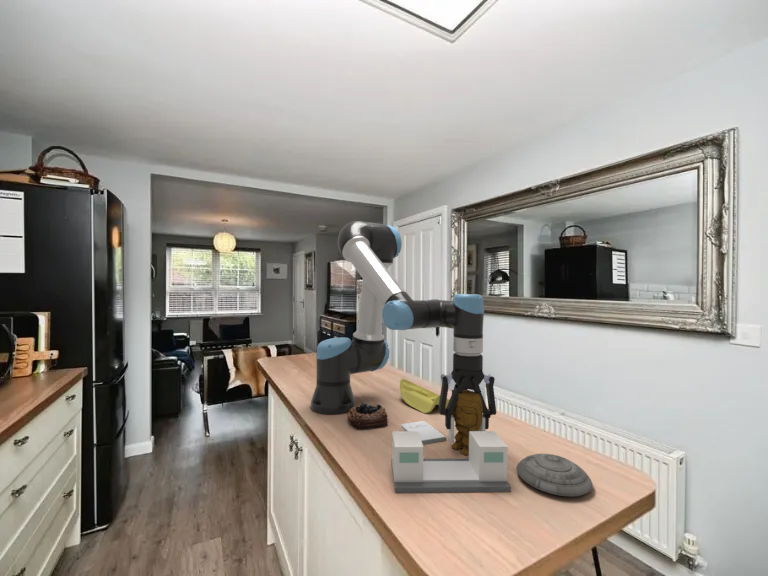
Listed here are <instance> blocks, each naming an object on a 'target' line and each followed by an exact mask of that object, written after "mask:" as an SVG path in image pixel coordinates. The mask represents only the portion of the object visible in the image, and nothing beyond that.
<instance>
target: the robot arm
mask: <svg viewBox="0 0 768 576" xmlns="http://www.w3.org/2000/svg"><path fill="white" fill-rule="evenodd" d="M402 244H403V243H402V237H401V234H400V233H399V230H398V229H397V228H396V227H394V226H392V225H389V224H386V223H385V224H384V223H378V222H369V221H363V220H355V221H350V222H348V223H347V224H345V225H344V226H343V227H342V228H341V229H340V231H339V234H338V236H337V247H338V251H339V253H340V254H341V256H342V257H343V258H344V260H345V261H347V262H350V263H351V264H352V265H353V267H354V268H355V270H356V271H357V273H358V274H359V275H360V277H361V278H362V281H361V282H362V283H361V284H362V285H361V293H360V304H359V313H358V314H359V315H358V325H357V330H356V331H355V332H353V334H352V340H351V338H349V337H345V336H344V337H343V336H342V337H332V338H328V339H324V340H322V341H320V342H319V343H318V345H317V347H316V355H315V357H316V382H315V383H316V384H315V385H316V386H315V388H314V392H313V395H312V397H311V400H310V408H311V411H313V412H315V413H317V414H323V415H340V414H344V413H349V410H350V409H351V408H352V407H356V398H355V396H354V392H353V388H352V386H351V375H353V374H362V373H367V372H370V373H371V372H375V371H377V370H378V371H379V370H381V369H382V368H384V367H386V364H387V363H388V361H389V359H390V347H389V344H388V342H387V340H385V335H384V334H383V332H382V325H383V324H384V325H385V328H387V329H389V330H390V331H391V330H392V331H407V330H416V329H428V328H429V329H430V328H431V329H432V328H447V329H453V343H452V345H453V346H452V351H453V352H454V353H453V354H452V371H451V374H450V373H449V374H443V373H442V374H441V375H440V379H441V380H440V381H441V388H440V394H439V395H440V400H439V405H438V407H437V411H438V413H439V414H440V415H441V416H444V426H445V428H446V430H448V440H449V442H450V444H454V443H455V421H454V417H453V415H452V413H453V411H454V408H455V406H456V403H457V401H458V393H462V390H470V391H473V392H475V393H477V394H479V395H480V396H481V399H482V405H483V413H482V420H481V425H480V430H479V431H486V430H488V429H489V425H490V419H491V417H492V416H495V415H497V408H496V407H497V406H496V399H495V388H494V385H495V379H496V378H495V377H494V376H493V375H491V374H484V370H483V368H484V367H483V366H484V365H483V362H484V358H483V357H484V356H483V355H482V353H483V352H484V331H483V330H484V314H485V309H484V297H483V296H482V295H481V294H477V293H476V294H475V293H473V294H472V293H471V294H470V293H456V294H455V295H454V296H453V300H444V299H438V298H437V299H426V300H418V299H417V300H414V299H413V298H412V297H411V296H410V295H409V294H408V292H407V291H406V290H405V289H404V288H403V287H402V285H401V284H400V283H399V281H398V280H397V279H396V278H395V276H394V275H393V274H392V272H391V271H390V270H389V267H390V266H392V265H393V264H394V259H396V258H397V257H398V256H399V255H400V253H401V251H402V246H403V245H402ZM451 380H453V382H454V383H455V384H454V386H453V390H454V393H453V394H452V393H451V395H450V398H449V403H448V405H447V407H446V400H447V399H448V393H449V384H450V383H451ZM483 380H484V381H483ZM482 382H484V383H485V389H486V397H487V405H486V401H485V398H484V395H483V394H482V390H481V388H480V384H481V383H482ZM487 406H488V407H487ZM445 407H446V408H445Z"/></svg>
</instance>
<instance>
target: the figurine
mask: <svg viewBox="0 0 768 576" xmlns="http://www.w3.org/2000/svg"><path fill="white" fill-rule="evenodd" d="M453 393H454V389H452V390H451V395H452V394H453ZM452 415H453V417H454V428H455V430H456V431H457V433H456V434H454V443H451V446H450V447H451V448H452V449H454V450H458V449H459V450H460V449H461V451H460V452H461V454H462V455H464V456H469V431H479V430H480V425H481V420H482V415H483V405H482V399H481V396H480V395H479V394H477V393H475V392H474V390H470V389H467V390H462V393H458V401H457V403H456V406H455V408H454V411H453V413H452Z"/></svg>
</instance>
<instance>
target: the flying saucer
mask: <svg viewBox="0 0 768 576" xmlns="http://www.w3.org/2000/svg"><path fill="white" fill-rule="evenodd" d="M515 470H516V472H517V474H518V476H519V477H520V479H522V480H523V481H524V482H525V483H527V484H528V485H529V486H531V487H533V488H535V489H537V490H539V491H542V492H544V493H548V494H551V495H555V496H562V497H579V496H583V495H586V494H589V493H590V492H591V491H592V489H593V487H594V486H593V482H592V479H591V478H590V476H589V475H588V473H587V472H585V470H584V469H583V468H582V467H580V466H579V465H578V464H576V463H575V462H573V461H571V460H569V459H567V458H565V457H563V456H560V455H556V454H551V453H534V454H530V455H528V456H526V457H524V458H522V459H521V460H520V461H519V462H518V463H517V465H516V469H515Z"/></svg>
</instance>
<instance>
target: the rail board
mask: <svg viewBox="0 0 768 576" xmlns="http://www.w3.org/2000/svg"><path fill="white" fill-rule="evenodd" d="M391 436H392V440H391V441H392V443H391V444H392V446H391V448H392V449H391V450H392V451H391V453H392V454H391V456H392V457H391V468H392V478H393V480H392V481H393V486H394V493H396V494H397V493H401V494H402V493H409V494H411V493H412V494H413V493H497V492H498V493H500V492H501V493H503V492H506V493H511V492H512V486H511V485H510V483H509V482H508V456H509V455H508V452H509V451H508V450H509V448H508V447H509V446H508V445H507V444H506V443H505V442H504V440H502V438H501V437H500V436H499V434H497V432H496V431H495V430H485V431H469V455H468V458H424V444H422V441H421V438H420V435H419V432H418V431H404V430H400V431H399V430H398V431H396V430H395V431H394V430H393V431H392V435H391Z"/></svg>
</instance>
